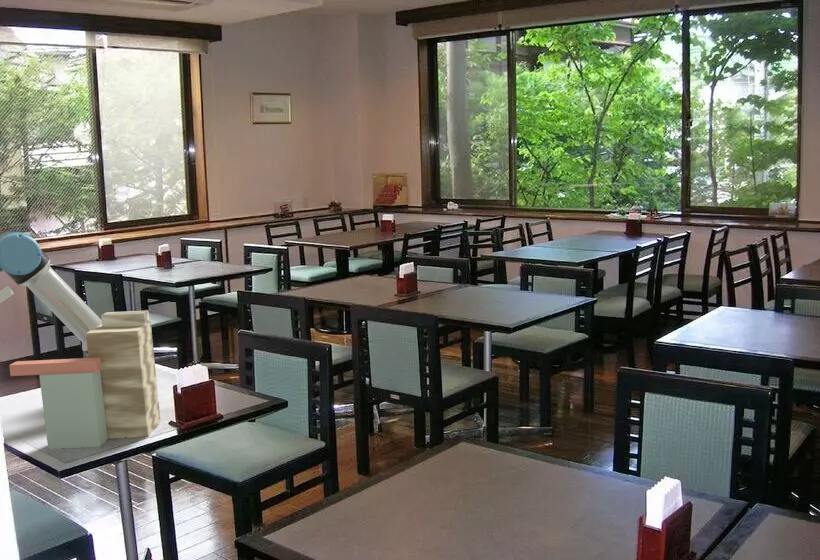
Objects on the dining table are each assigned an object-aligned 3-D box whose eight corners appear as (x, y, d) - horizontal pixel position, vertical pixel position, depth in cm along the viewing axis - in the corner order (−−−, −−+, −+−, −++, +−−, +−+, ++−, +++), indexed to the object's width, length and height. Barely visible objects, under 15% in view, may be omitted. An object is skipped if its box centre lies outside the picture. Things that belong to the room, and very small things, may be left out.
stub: (17, 372, 230) (16, 361, 229) (101, 368, 229) (100, 357, 229) (10, 376, 226) (9, 365, 225) (96, 372, 225) (95, 361, 225)
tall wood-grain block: (112, 424, 246) (100, 312, 241) (160, 422, 246) (149, 309, 241) (97, 439, 234) (84, 320, 229) (148, 436, 234) (135, 318, 229)
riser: (57, 441, 234) (48, 369, 230) (107, 439, 234) (99, 367, 230) (48, 449, 228) (39, 375, 224) (100, 446, 228) (91, 373, 224)
